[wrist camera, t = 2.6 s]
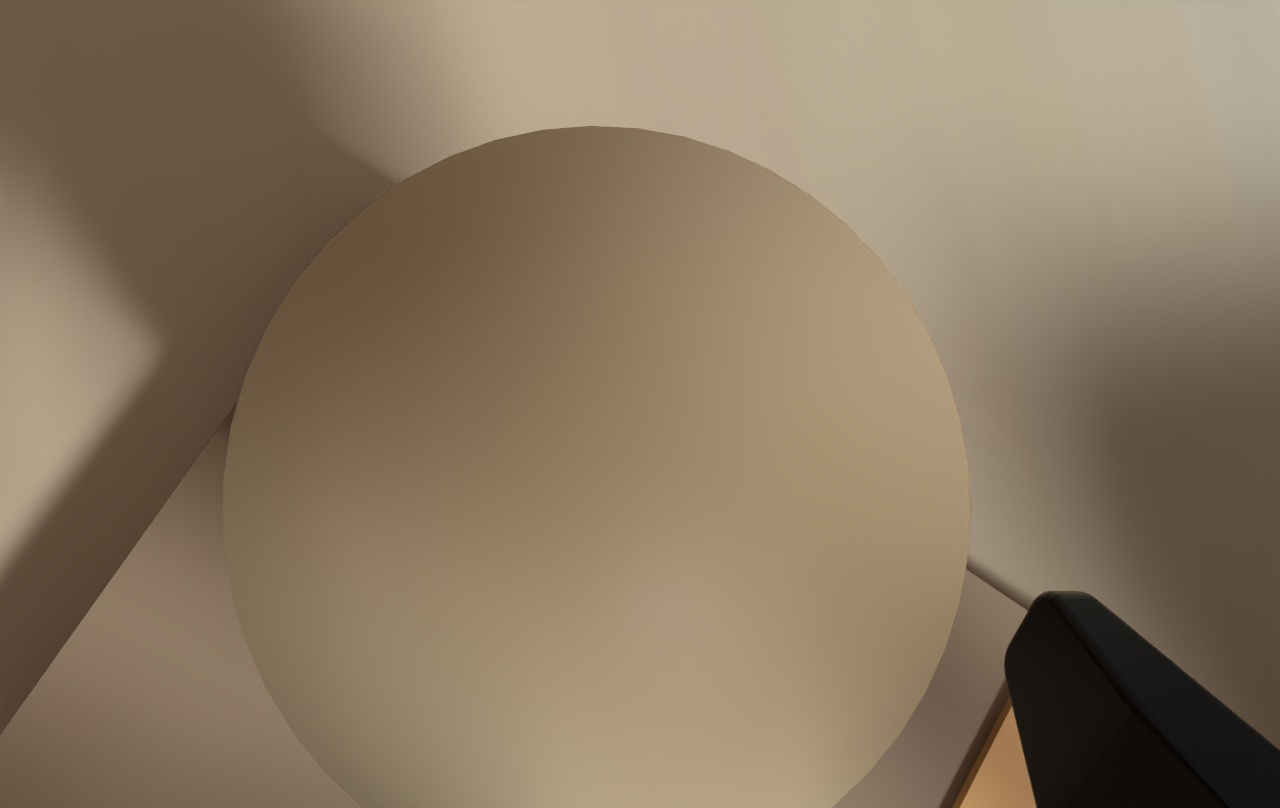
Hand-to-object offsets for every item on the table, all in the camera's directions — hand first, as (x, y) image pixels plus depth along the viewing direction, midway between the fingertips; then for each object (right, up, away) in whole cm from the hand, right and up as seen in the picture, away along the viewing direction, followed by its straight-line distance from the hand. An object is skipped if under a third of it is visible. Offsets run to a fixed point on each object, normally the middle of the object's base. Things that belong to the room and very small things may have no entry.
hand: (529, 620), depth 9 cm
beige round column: (-2, 0, +7) cm, 8 cm away
